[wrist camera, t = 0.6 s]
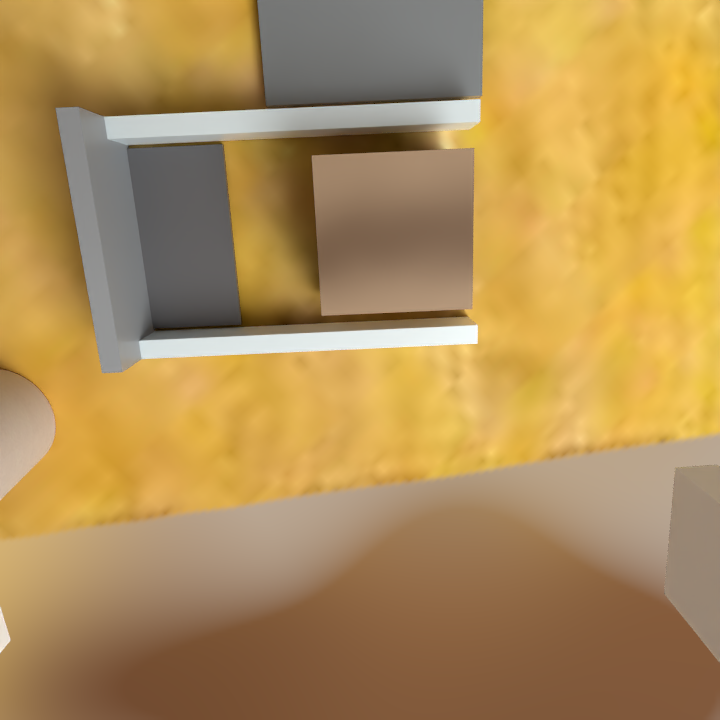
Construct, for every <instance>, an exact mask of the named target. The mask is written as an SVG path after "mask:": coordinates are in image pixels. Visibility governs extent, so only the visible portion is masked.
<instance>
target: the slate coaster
mask: <svg viewBox="0 0 720 720" xmlns="http://www.w3.org/2000/svg"><path fill="white" fill-rule="evenodd" d="M257 2H258V14H259V26H260V39H261V51H262V63H263V75H264V87H265V99H266V106H267V107H268V108H275V107H297V106H318V105H340V104H361V103H383V102H404V101H426V100H447V99H469V98H480V97H481V96H482V54H483V0H257Z"/></svg>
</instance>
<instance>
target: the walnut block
mask: <svg viewBox="0 0 720 720" xmlns="http://www.w3.org/2000/svg"><path fill="white" fill-rule="evenodd" d="M312 170H313V186H314V202H315V218H316V234H317V250H318V266H319V282H320V298H321V314H322V316H327V315H349V314H372V313H394V312H416V311H439V310H461V309H472V291H473V202H474V148H466V149H444V150H422V151H399V152H377V153H355V154H332V155H312Z"/></svg>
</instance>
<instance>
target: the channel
mask: <svg viewBox="0 0 720 720" xmlns="http://www.w3.org/2000/svg"><path fill="white" fill-rule="evenodd" d="M55 109H56V114H57V120H58V126H59V131H60V137H61V143H62V148H63V154H64V160H65V165H66V171H67V177H68V182H69V188H70V194H71V199H72V205H73V211H74V216H75V222H76V228H77V233H78V239H79V245H80V250H81V256H82V262H83V267H84V273H85V279H86V284H87V290H88V296H89V301H90V307H91V313H92V318H93V324H94V330H95V335H96V341H97V347H98V352H99V358H100V364H101V369H102V373H115V372H123V371H125V370H126V369H128V368H129V367H131V366H132V365H134V364H135V363H137V362H138V361H139V360H141V359H151V358H173V357H195V356H216V355H238V354H260V353H282V352H303V351H325V350H347V349H369V348H390V347H412V346H434V345H456V344H477V333H478V325H477V324H476V323H475V322H474V321H472V320H471V319H470V318H469V317H446V318H425V319H403V320H381V321H359V322H338V323H316V324H294V325H272V326H251V327H229V328H207V329H186V330H164V331H155V328H176V327H198V326H220V325H241V324H242V320H241V310H240V300H239V291H238V281H237V271H236V262H235V252H234V242H233V233H232V223H231V213H230V204H229V194H228V184H227V175H226V165H225V155H224V146H223V145H222V144H218V145H196V146H175V147H153V148H132V149H129V147H128V145H146V144H168V143H189V142H211V141H233V140H254V139H276V138H297V137H319V136H340V135H362V134H383V133H405V132H427V131H448V130H469V129H471V128H472V127H474V126H475V125H476V124H478V123H479V122H480V99H474V100H453V101H431V102H410V103H388V104H367V105H345V106H324V107H302V108H281V109H259V110H238V111H216V112H195V113H173V114H152V115H130V116H108V117H103V116H101V115H98V114H96V113H93V112H91V111H88V110H85V109H83V108H80V107H64V108H55Z"/></svg>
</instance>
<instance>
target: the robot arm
mask: <svg viewBox="0 0 720 720" xmlns="http://www.w3.org/2000/svg"><path fill="white" fill-rule="evenodd" d="M664 594H665V595H666V596H667V597H668V599H669V600H670V601H671V603H672V604H673V605H674V606H675V608H676V609H677V610H678V611H679V613H680V614H681V615H682V616H683V617H684V619H685V620H686V621H687V623H688V624H689V625H690V626H691V627H692V629H693V630H694V631H695V632H696V633H697V635H698V636H699V637H700V639H701V640H702V641H703V642H704V644H705V645H706V646H707V647H708V649H709V650H710V651H711V652H712V654H713V655H714V656H715V657H716V659H717V660H718V661H719V662H720V467H719V466H718V465H705V466H692V467H680V468H679V467H678V468H675V477H674V488H673V499H672V511H671V522H670V533H669V544H668V555H667V566H666V578H665V589H664ZM9 641H10V637H9V634H8V630H7V627H6V624H5V621H4V617H3V614H2V611H1V607H0V653H1V651H2V650H3V649H4V648H5V646H6V645H7V644H8V643H9Z"/></svg>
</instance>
